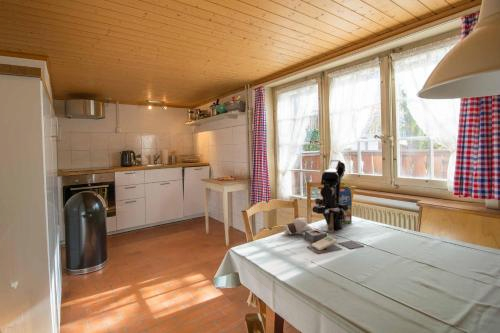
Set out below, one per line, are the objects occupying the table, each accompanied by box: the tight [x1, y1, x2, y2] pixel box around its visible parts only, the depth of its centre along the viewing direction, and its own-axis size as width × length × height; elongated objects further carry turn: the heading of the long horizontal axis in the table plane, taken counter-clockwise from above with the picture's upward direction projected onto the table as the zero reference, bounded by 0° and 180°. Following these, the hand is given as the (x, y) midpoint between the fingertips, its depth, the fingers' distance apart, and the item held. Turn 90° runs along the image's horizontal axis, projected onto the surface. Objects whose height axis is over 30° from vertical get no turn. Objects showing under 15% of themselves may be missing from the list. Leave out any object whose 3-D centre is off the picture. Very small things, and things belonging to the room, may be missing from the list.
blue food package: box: [339, 182, 353, 225], centre depth 159 cm, size 6×12×25 cm, turn 106°
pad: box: [338, 240, 365, 250], centre depth 123 cm, size 8×8×1 cm
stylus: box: [327, 213, 334, 232], centre depth 135 cm, size 3×3×9 cm
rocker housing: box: [306, 243, 343, 255], centre depth 120 cm, size 13×9×2 cm
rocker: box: [311, 235, 338, 251], centre depth 120 cm, size 10×6×1 cm, turn 109°
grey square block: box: [304, 228, 328, 244], centre depth 131 cm, size 8×8×4 cm
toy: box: [282, 217, 314, 236], centre depth 141 cm, size 13×9×15 cm
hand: (330, 224), depth 135 cm, fingers closed on stylus, 3 cm apart
